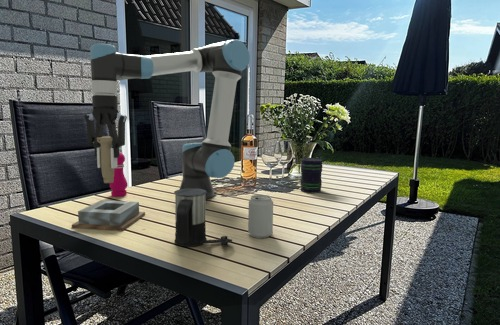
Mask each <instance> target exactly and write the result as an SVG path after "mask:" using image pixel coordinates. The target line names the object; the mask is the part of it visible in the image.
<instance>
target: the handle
mask: <svg viewBox="0 0 500 325" xmlns="http://www.w3.org/2000/svg"><path fill="white" fill-rule="evenodd" d="M97 142H99V143H100V144H101V175H102V178H103V184H110V183H113V182H114V178H113V177H114V168H111V148H112V147H113V145H112V137H110V136H106V135H105V136H102V137H97Z"/></svg>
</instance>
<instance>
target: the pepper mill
mask: <svg viewBox="0 0 500 325" xmlns="http://www.w3.org/2000/svg"><path fill="white" fill-rule="evenodd" d="M125 160H126V157H125V155H124V154H123V153H121V152H119V157H118V158H117V167H116V168H114V177H113V178H114V182H113V183H109V188H110V189H111V193H110V194H111V195H110V196H111V197H115V198H116V197H118V198H119V197H125V196H127V195H128V194H127V192H128V191H127V187H128V181H127V178H126V177H125V173H124V168H125V166H124V165H125V164H124V162H126V161H125Z"/></svg>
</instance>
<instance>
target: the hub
mask: <svg viewBox="0 0 500 325" xmlns="http://www.w3.org/2000/svg"><path fill="white" fill-rule="evenodd" d="M77 215H78V216H77V217H78V219H77V220H78V221H75V222H74V223H72V224H71V229H85V230H86V229H88V230H101V231H102V230H105V231H120V232H123V231H125V230H126V229H127V228H129V227H130V226H132V225H133V224H134V223H136V222H137V221H139V220H140V219H141V218H142V217H144V216H145V215H146V212H145V211H140V202H139V201H128V200H127V201H124V200H107V199H106V200H102V199H100V200H99V201H97V202H94V203H92V204H91V205H88V206H86V207H84V208H82V209H80V210H78V211H77Z"/></svg>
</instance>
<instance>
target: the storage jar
mask: <svg viewBox="0 0 500 325" xmlns="http://www.w3.org/2000/svg"><path fill="white" fill-rule="evenodd" d="M300 171H301V173H300V174H301V176H300V182H299V185H300V190H301V191H300V192H303V193H306V194H319V193H321V192H322V184H323V180H322V172H323V159H322V158H317V157H303V158H301V163H300Z"/></svg>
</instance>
